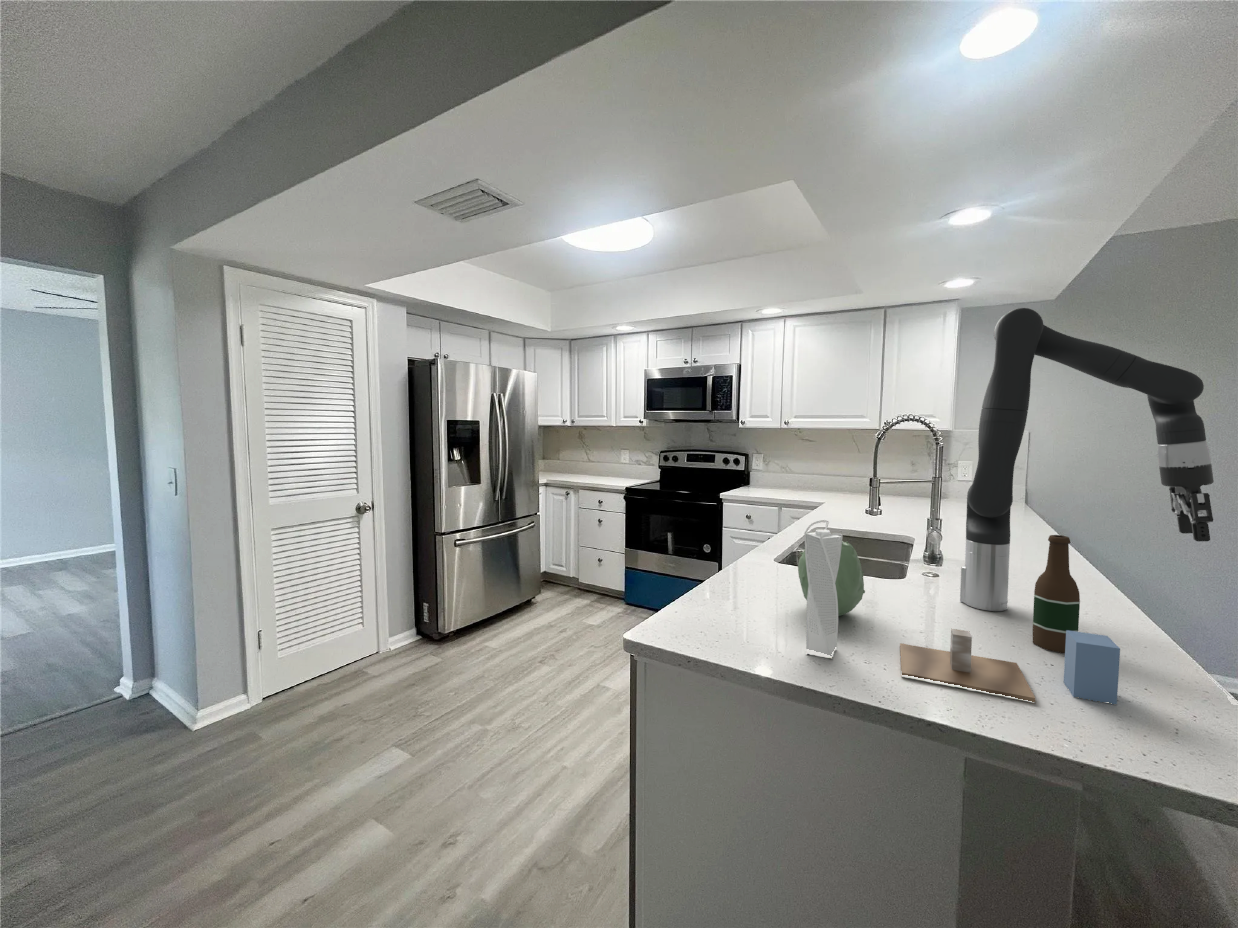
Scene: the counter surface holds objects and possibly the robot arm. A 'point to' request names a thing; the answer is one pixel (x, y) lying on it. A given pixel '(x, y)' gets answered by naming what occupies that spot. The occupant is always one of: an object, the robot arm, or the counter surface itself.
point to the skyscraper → (822, 588)
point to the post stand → (965, 668)
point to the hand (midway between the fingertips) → (1194, 536)
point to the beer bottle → (1055, 599)
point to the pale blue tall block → (1091, 666)
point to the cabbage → (841, 579)
